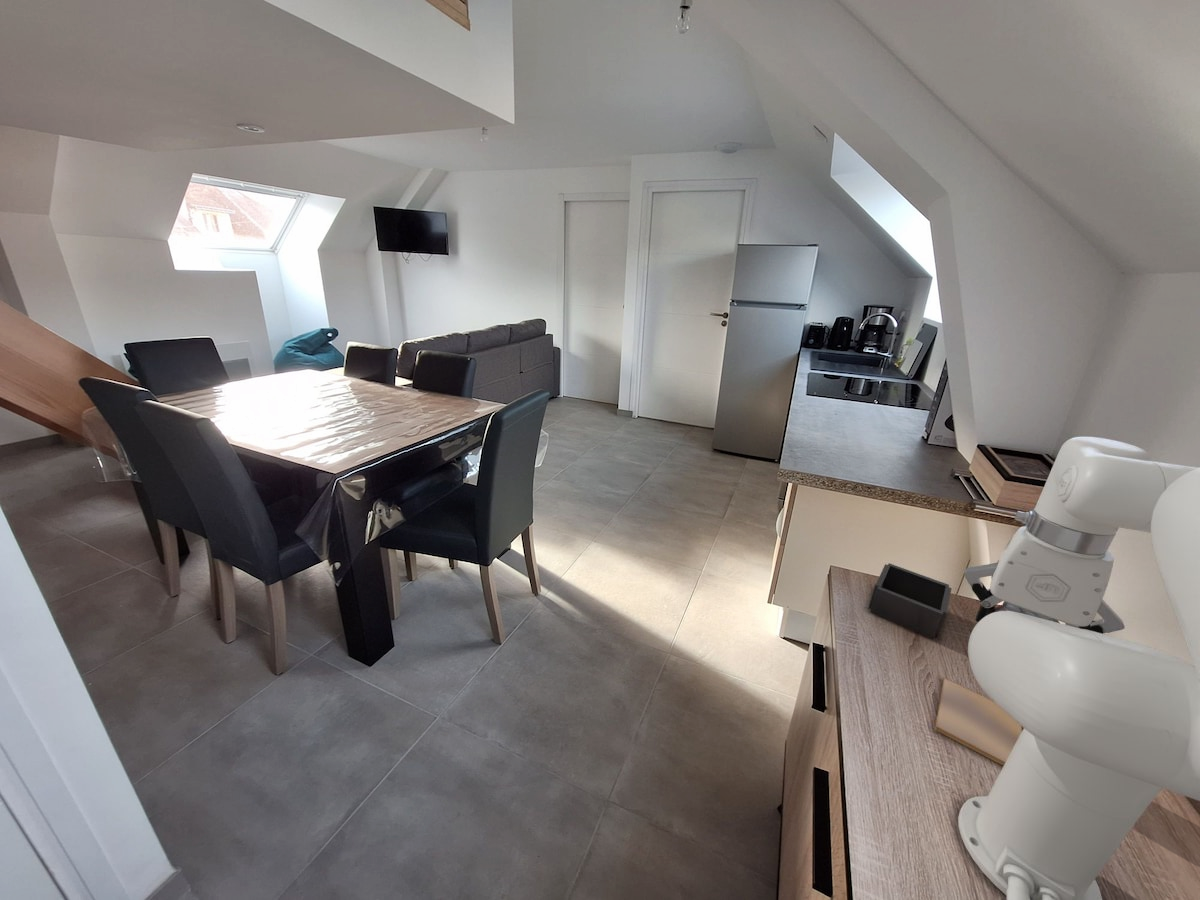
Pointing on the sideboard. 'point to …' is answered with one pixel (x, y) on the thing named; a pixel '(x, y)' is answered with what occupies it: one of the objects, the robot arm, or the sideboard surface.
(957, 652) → the sideboard surface
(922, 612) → the open box
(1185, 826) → the sideboard surface
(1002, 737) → the board
